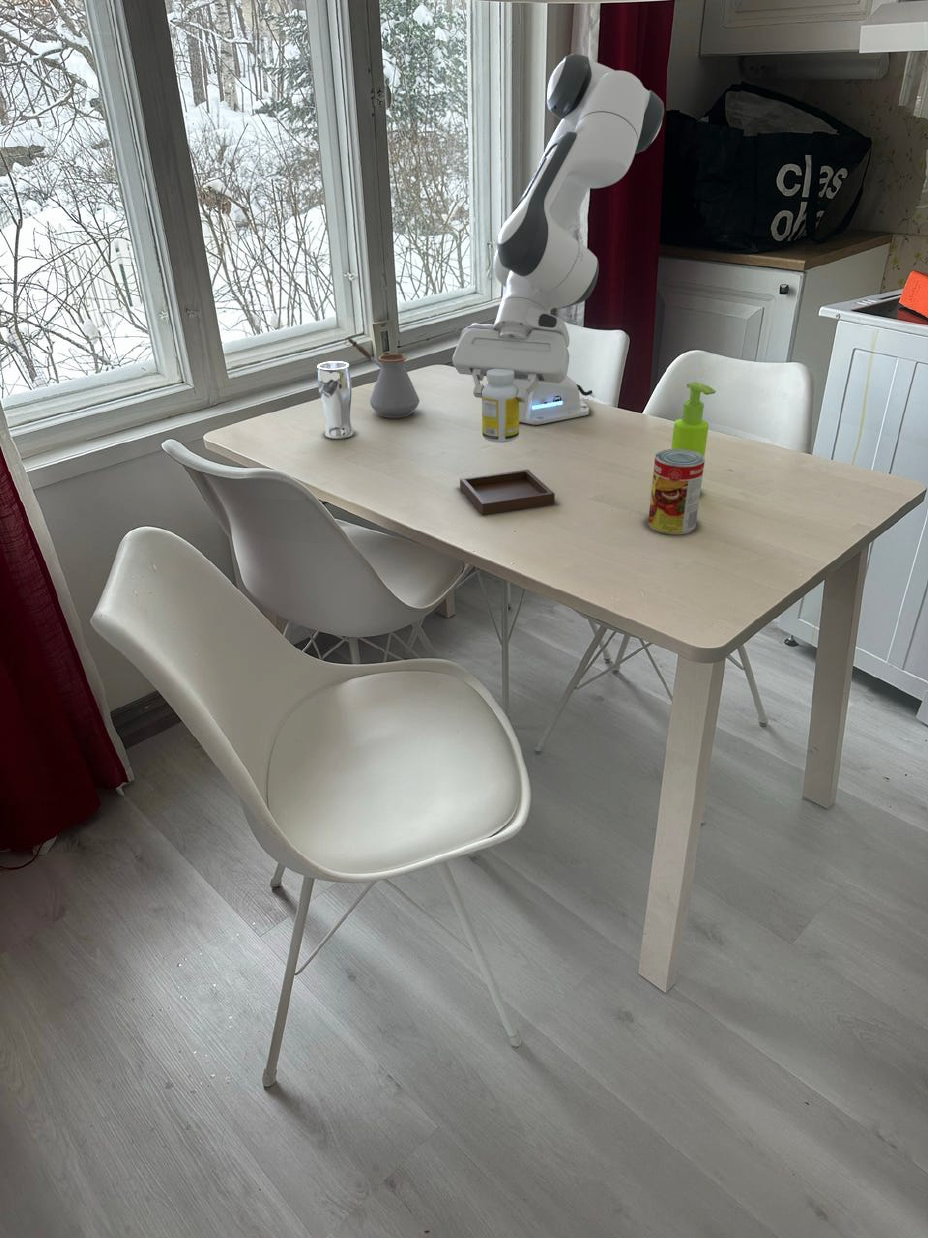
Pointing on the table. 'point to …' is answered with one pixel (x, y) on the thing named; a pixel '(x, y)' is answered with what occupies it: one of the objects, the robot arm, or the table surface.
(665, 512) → the canned food
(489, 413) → the pill bottle
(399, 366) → the coffee pot
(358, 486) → the table surface
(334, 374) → the beer glass
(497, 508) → the tray
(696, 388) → the soap dispenser
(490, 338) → the robot arm
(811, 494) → the table surface
